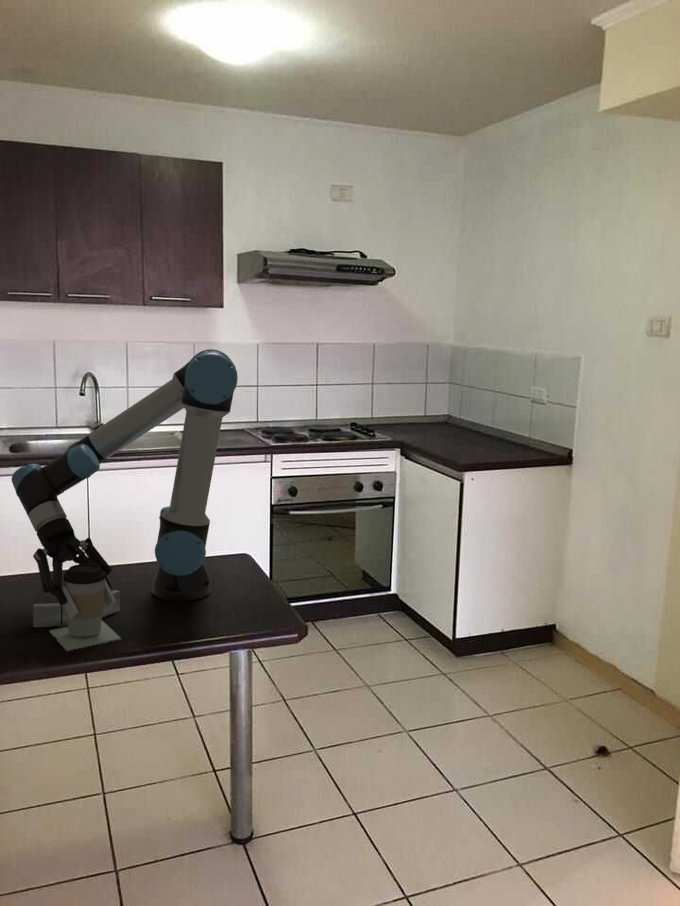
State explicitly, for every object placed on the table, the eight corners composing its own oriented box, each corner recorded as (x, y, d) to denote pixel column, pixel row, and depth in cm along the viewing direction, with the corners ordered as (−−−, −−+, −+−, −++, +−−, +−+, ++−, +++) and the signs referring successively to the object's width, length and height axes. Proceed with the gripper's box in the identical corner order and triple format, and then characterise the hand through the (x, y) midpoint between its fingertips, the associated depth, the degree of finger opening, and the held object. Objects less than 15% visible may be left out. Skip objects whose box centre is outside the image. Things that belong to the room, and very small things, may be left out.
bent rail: (117, 608, 189) (117, 589, 188) (124, 614, 186) (124, 594, 185) (31, 625, 176) (31, 604, 176) (36, 631, 173) (36, 610, 172)
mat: (101, 621, 181) (101, 619, 181) (120, 639, 171) (120, 637, 171) (49, 631, 173) (49, 630, 173) (66, 651, 164) (66, 649, 164)
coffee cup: (69, 622, 176) (69, 559, 174) (109, 623, 177) (110, 560, 174) (58, 638, 167) (57, 572, 165) (100, 639, 168) (100, 573, 166)
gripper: (85, 525, 187) (126, 605, 180) (0, 543, 169) (42, 631, 163) (99, 508, 182) (141, 589, 176) (13, 525, 165) (56, 614, 159)
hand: (93, 609), depth 169 cm, fingers closed on coffee cup, 9 cm apart
